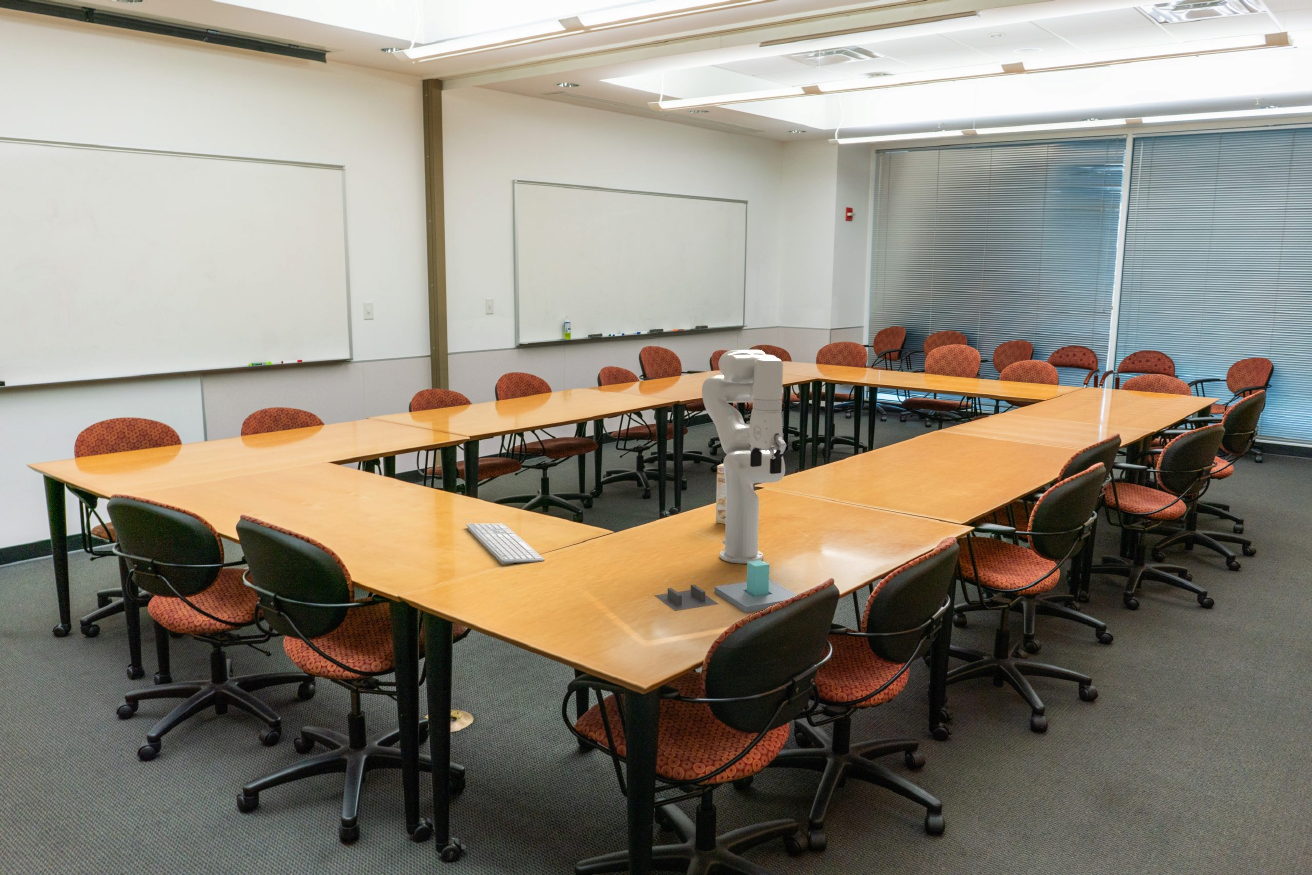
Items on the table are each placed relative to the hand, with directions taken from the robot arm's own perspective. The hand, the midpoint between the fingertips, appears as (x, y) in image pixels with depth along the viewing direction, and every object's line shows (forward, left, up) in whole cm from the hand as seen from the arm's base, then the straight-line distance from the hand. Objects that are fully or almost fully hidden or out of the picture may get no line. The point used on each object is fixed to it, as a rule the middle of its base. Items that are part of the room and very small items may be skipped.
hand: (765, 469), depth 243 cm
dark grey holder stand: (+8, -27, -30) cm, 41 cm away
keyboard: (-62, -54, -31) cm, 88 cm away
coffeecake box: (-59, +25, -31) cm, 71 cm away
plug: (+14, -10, -30) cm, 35 cm away
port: (+14, -10, -30) cm, 35 cm away
